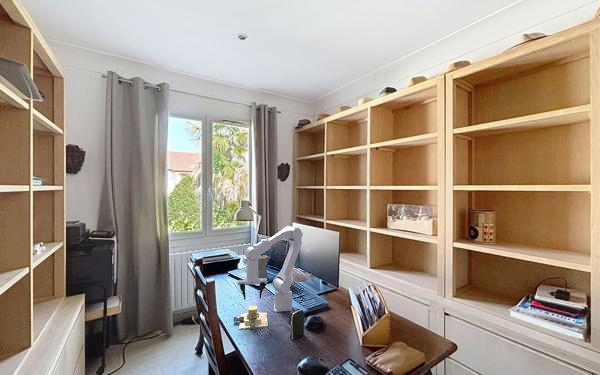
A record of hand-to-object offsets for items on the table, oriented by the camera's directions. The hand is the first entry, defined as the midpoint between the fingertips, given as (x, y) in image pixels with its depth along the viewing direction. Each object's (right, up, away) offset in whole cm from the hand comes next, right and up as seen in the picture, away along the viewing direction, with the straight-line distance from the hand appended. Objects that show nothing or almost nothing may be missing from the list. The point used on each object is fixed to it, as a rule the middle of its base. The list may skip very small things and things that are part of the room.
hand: (252, 298), depth 132 cm
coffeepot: (-5, -9, +56) cm, 57 cm away
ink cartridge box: (+15, -9, +38) cm, 42 cm away
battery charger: (+22, -10, -17) cm, 29 cm away
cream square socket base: (0, -9, -5) cm, 11 cm away
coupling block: (+1, -9, -4) cm, 10 cm away
